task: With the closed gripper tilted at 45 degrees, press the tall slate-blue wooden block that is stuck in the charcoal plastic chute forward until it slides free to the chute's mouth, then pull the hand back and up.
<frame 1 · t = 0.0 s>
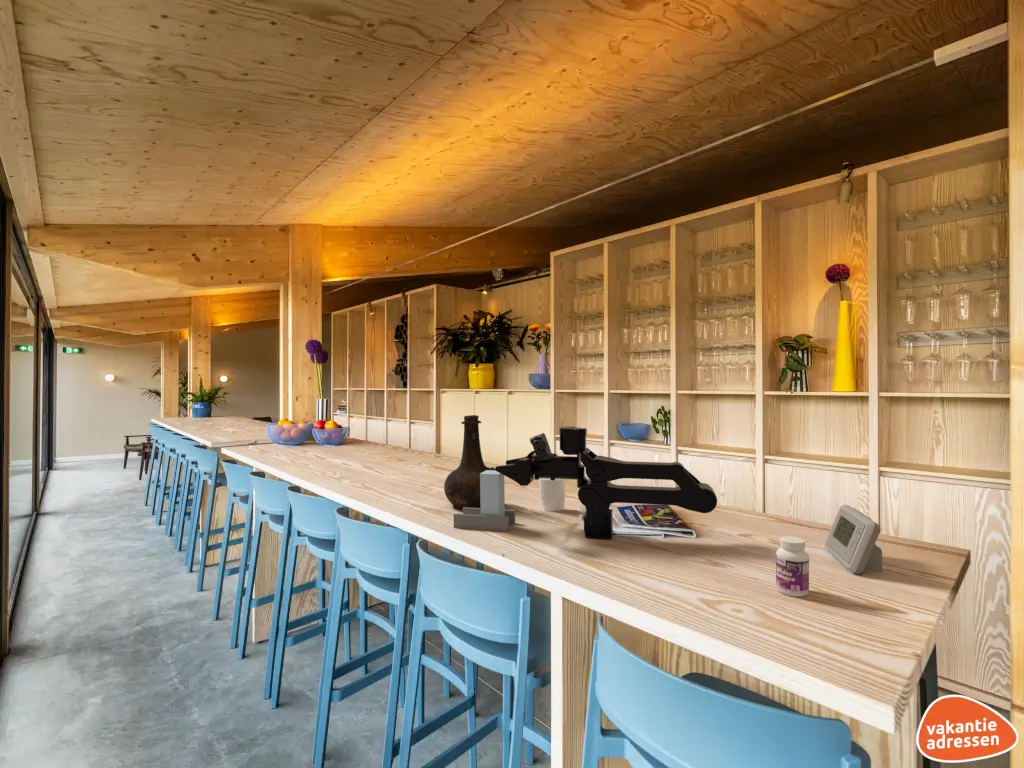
hand: (501, 465, 140), 17 cm above the table, tool horizontal, fingers open, 9 cm apart
white cup: (552, 511, 157), on the table
chute: (485, 528, 141), on the table
digital clock: (850, 563, 112), on the table
dark brown round-bodied bottle: (474, 508, 163), on the table
pill bottle: (792, 592, 98), on the table
block: (492, 498, 140), point 8 cm above the table, slide at 0.0 cm
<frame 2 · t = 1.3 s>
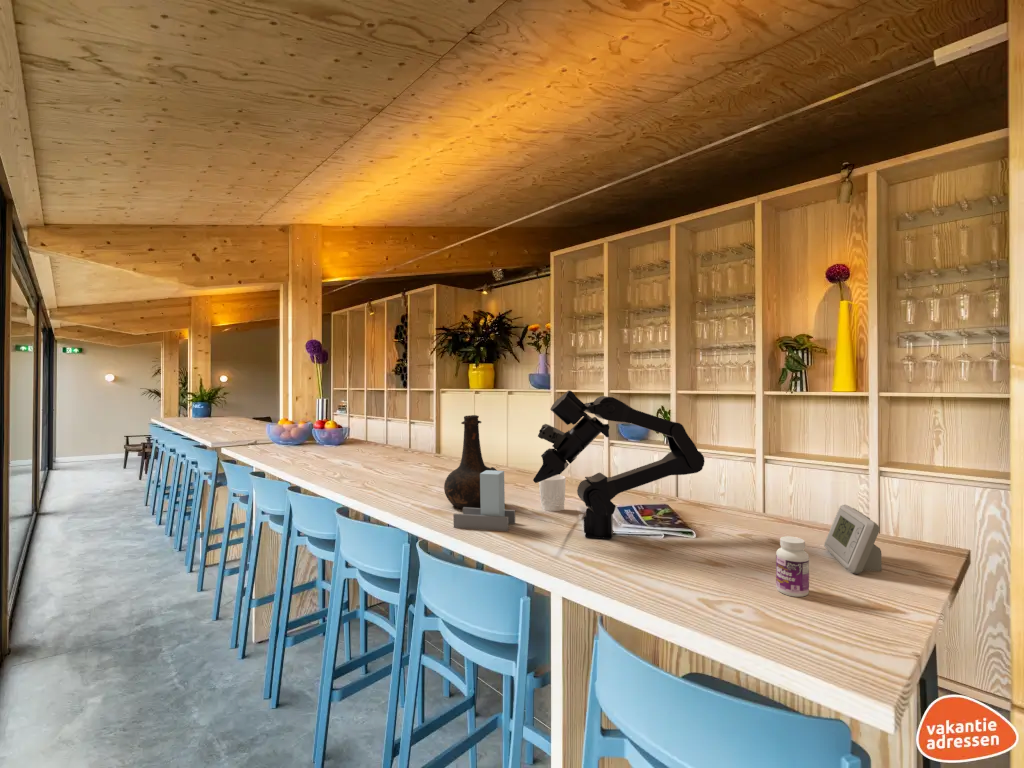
hand: (537, 478, 136), 14 cm above the table, tool tilted 45°, fingers open, 6 cm apart
nothing on the table moved.
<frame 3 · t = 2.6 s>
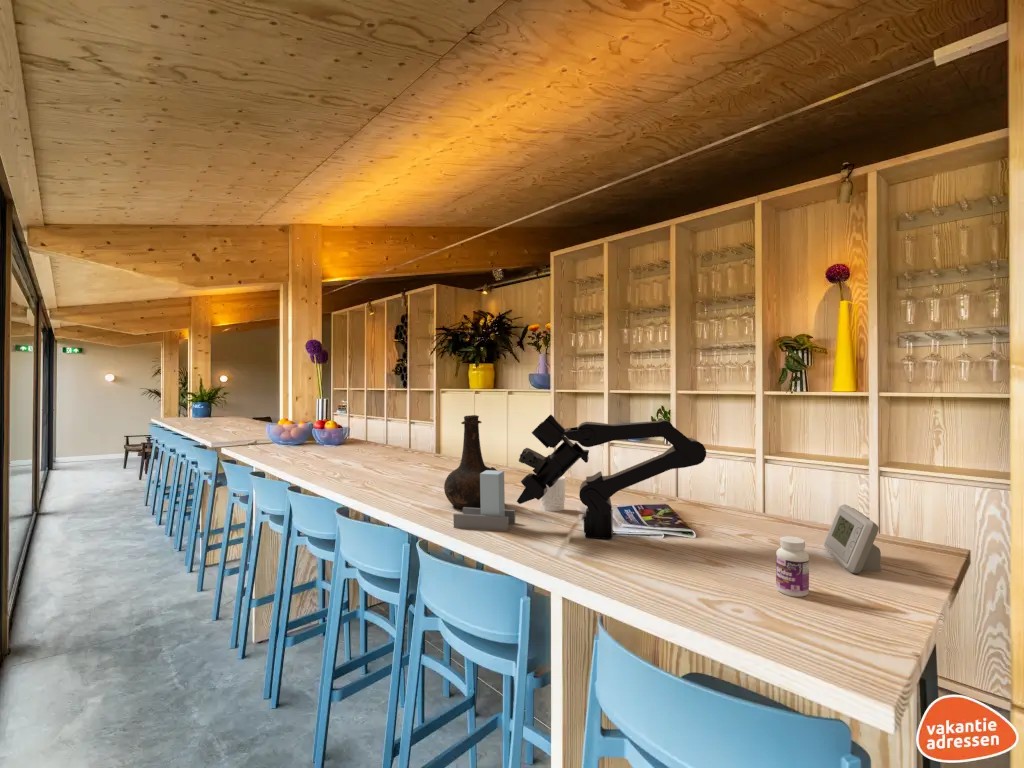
hand: (518, 502, 138), 7 cm above the table, tool tilted 45°, fingers closed
nothing on the table moved.
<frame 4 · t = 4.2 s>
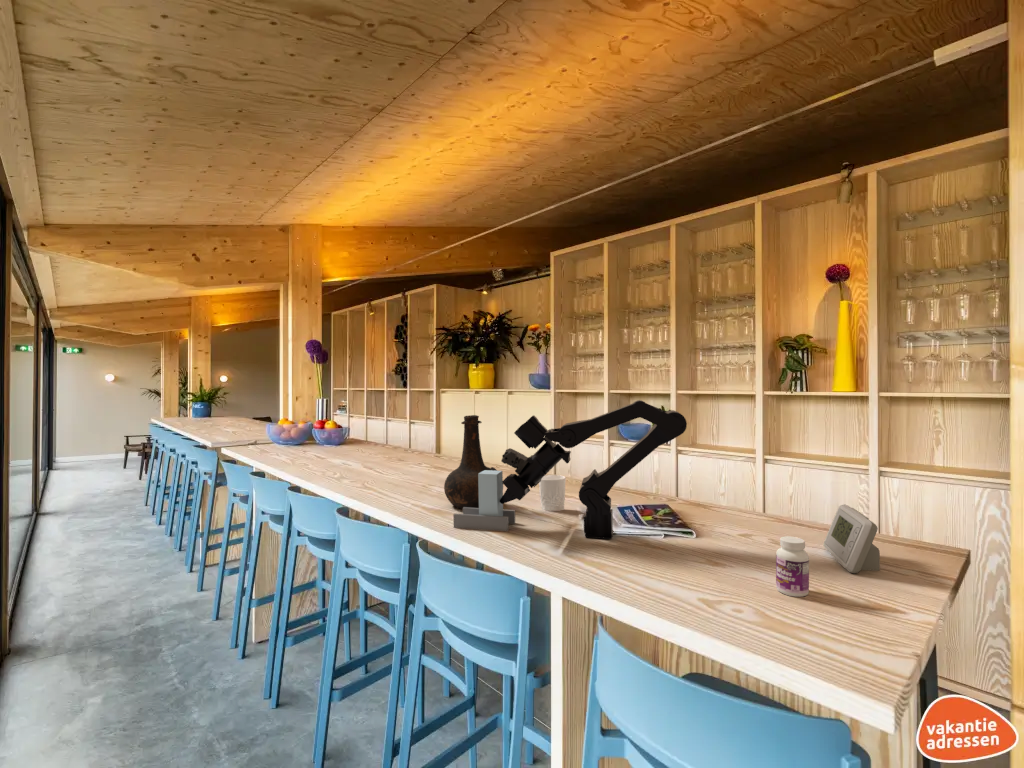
hand: (501, 502, 139), 7 cm above the table, tool tilted 45°, fingers closed, pressing on block
block: (490, 498, 140), point 8 cm above the table, slide at 0.5 cm, touching gripper
everything else where it was.
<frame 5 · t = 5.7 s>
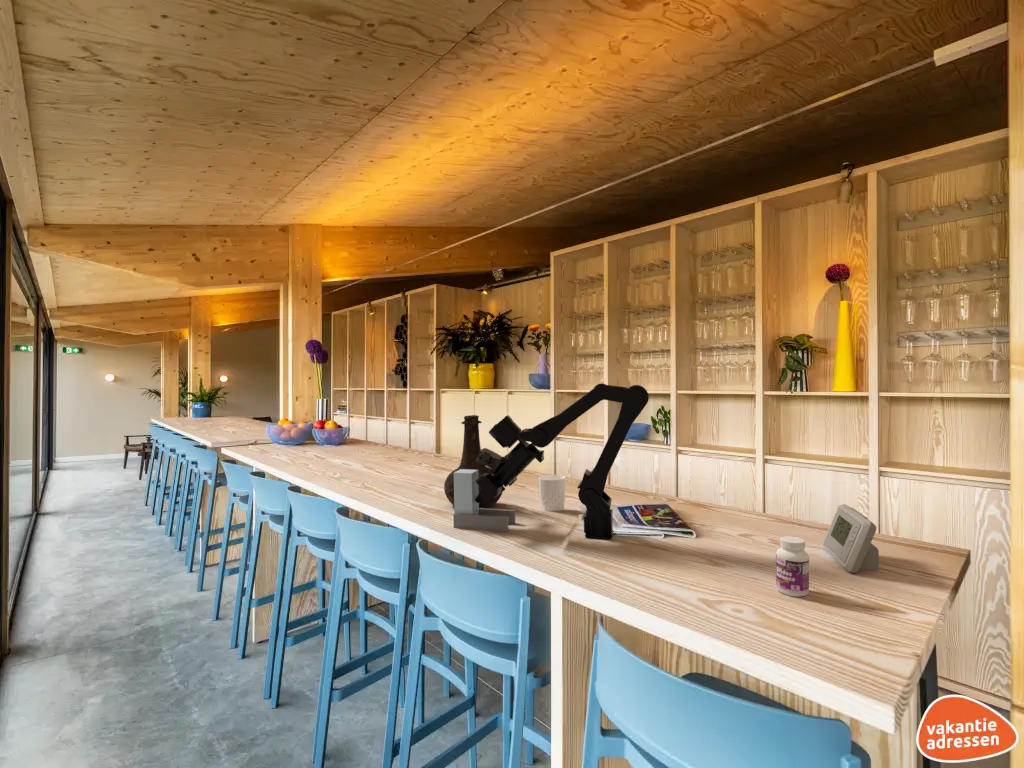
hand: (476, 501, 141), 7 cm above the table, tool tilted 45°, fingers closed, pressing on block
block: (466, 497, 142), point 8 cm above the table, slide at 7.3 cm, touching gripper
everything else where it was.
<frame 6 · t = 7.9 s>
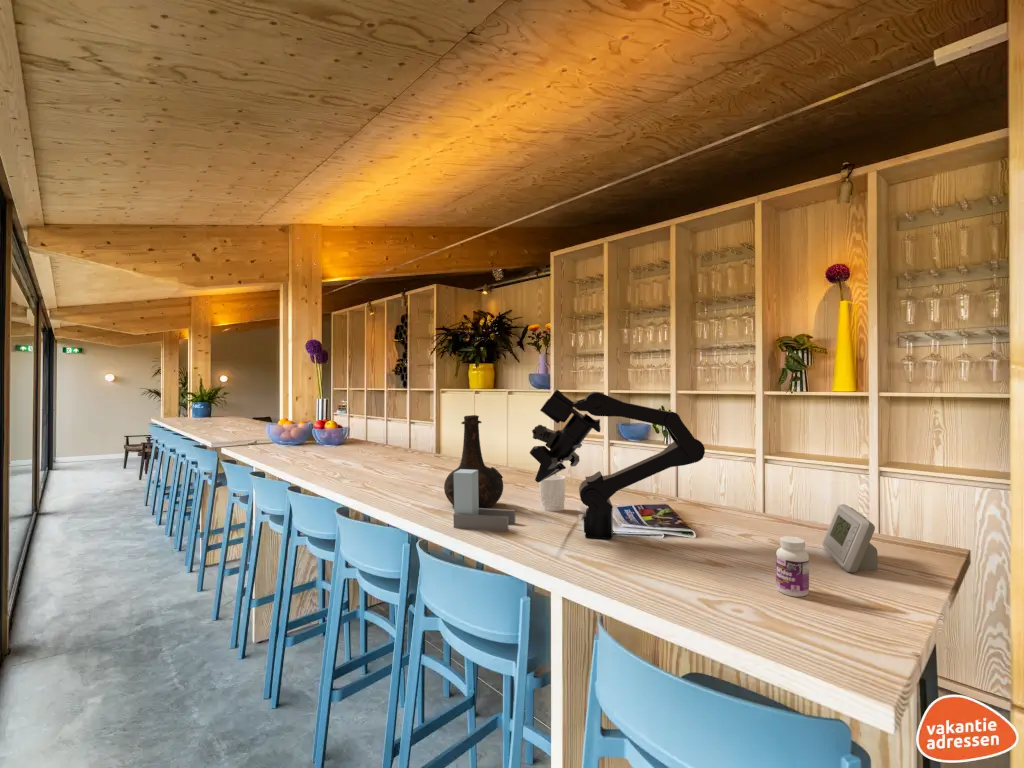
hand: (536, 481, 137), 13 cm above the table, tool tilted 40°, fingers closed
block: (466, 497, 142), point 8 cm above the table, slide at 7.3 cm
everything else where it was.
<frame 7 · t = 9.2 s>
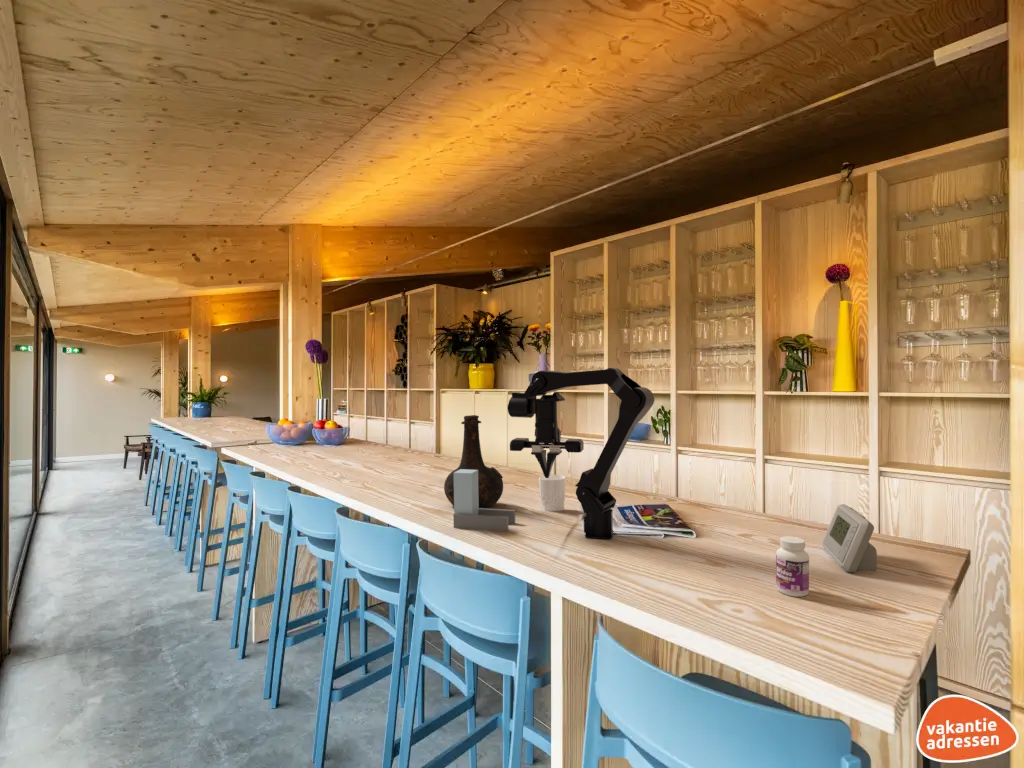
hand: (547, 477, 141), 13 cm above the table, tool pointing down, fingers closed
nothing on the table moved.
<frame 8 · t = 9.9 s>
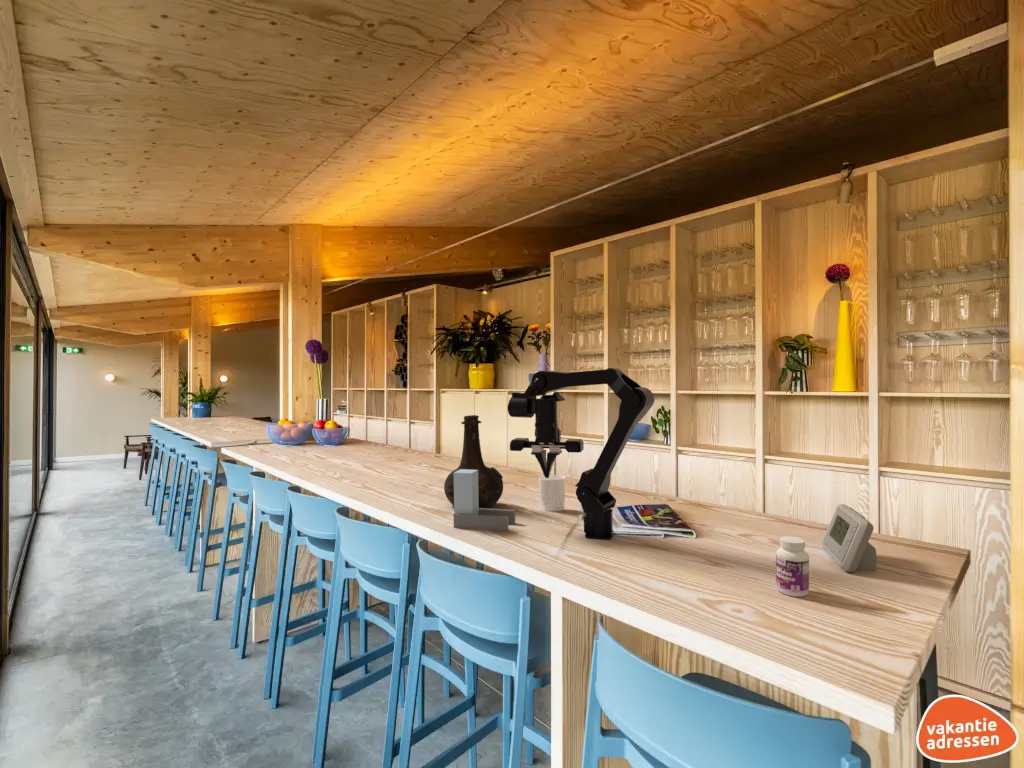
hand: (547, 477, 141), 13 cm above the table, tool pointing down, fingers closed
nothing on the table moved.
at the end: block slide at 7.3 cm; white cup moved 0.2 cm from its start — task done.
